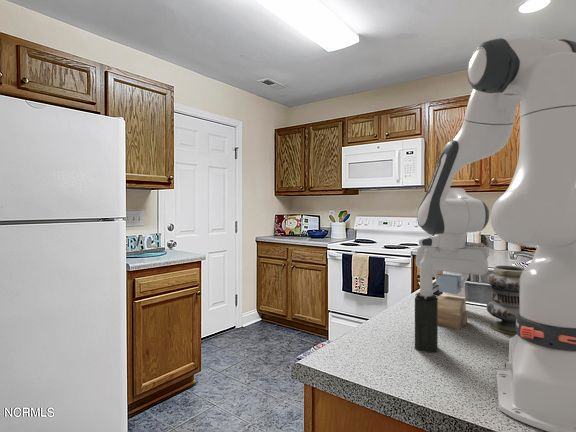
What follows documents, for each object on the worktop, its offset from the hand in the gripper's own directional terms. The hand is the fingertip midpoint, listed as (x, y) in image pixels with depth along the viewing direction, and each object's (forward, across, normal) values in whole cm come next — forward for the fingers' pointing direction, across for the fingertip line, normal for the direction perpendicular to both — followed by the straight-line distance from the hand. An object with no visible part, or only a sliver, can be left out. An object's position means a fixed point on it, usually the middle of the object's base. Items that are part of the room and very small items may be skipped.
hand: (450, 286), depth 106 cm
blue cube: (+2, 0, 0) cm, 2 cm away
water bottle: (+12, +3, -15) cm, 19 cm away
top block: (+8, 0, 0) cm, 8 cm away
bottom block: (+12, 0, 0) cm, 12 cm away
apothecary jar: (+12, -15, -5) cm, 20 cm away
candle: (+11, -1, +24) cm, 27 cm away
